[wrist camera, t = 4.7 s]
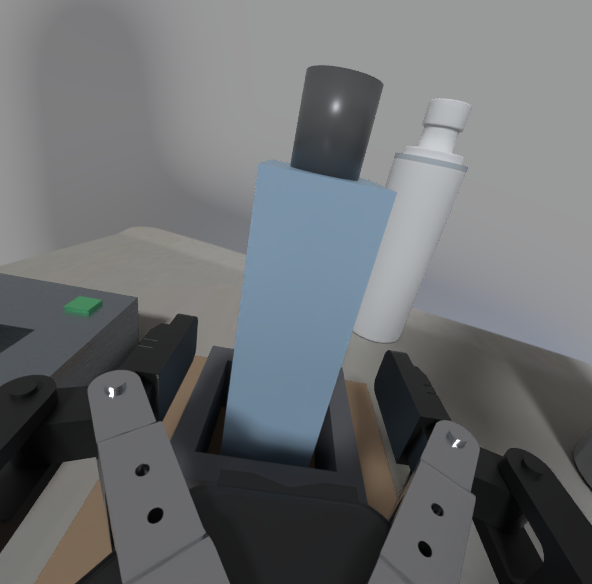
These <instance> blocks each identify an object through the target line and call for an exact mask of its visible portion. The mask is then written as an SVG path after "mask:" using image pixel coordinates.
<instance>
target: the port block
mask: <svg viewBox="0 0 592 584" xmlns="http://www.w3.org/2000/svg"><path fill="white" fill-rule="evenodd" d="M138 345H139V327H138V297H132V296H126V295H121V294H115V293H109V292H104V291H98V290H92V289H87V288H81V287H75V286H69V285H64V284H58V283H52V282H47V281H41V280H35V279H30V278H24V277H18V276H12V275H7V274H1V273H0V386H2V385H3V384H5V383H7V382H9V381H11V380H13V379H16V378H19V377H23V376H28V375H45V376H49V377H51V378H53V379H54V380H55V382H56V387H57V388H67V387H80V386H88V385H90V383H91V382H92V381H93V380H94V379H95V378H97V377H98V376H100V375H102V374H104V373H107V372H110V371H115V370H118V368H119V367H120V366H121V365H122V364H123V362H124V361H125V360H126V359H127V358H128V356H129V355H130V354H131V353H132V352H133V350H134V349H135V348H136V347H137V346H138Z"/></svg>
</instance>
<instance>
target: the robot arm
mask: <svg viewBox="0 0 592 584" xmlns="http://www.w3.org/2000/svg"><path fill="white" fill-rule="evenodd" d="M197 326H198V318H197V317H195V316H190V315H184V314H177V315H176V317H175V318H174V319H173V321H172V322H171V323H170V325H169V324H163V323H162V324H160V325H158V326H156V327H154V328H153V329H151V330H150V331H149V332H148V334H147V335H146V336H145V337H144V339H143V340H142V341H141V342H140V343H139V345H138V346H137V347H136V348H135V349H134V350H133V352H132V353H131V354H130V355H129V356H128V358H127V359H126V360H125V361H124V362H123V364H122V365H121V366H120V367H119V368H118V370H115V371H110V372H107V373H104V374H102V375H100V376H98V377H97V378H95V379H94V380H93V381H92V382H91V383H90V385H88V386H80V387H67V388H57V387H56V382H55V380H54V379H53V378H51V377H49V376H45V375H28V376H23V377H19V378H16V379H13V380H11V381H9V382H7V383H5V384H3V385H2V386H0V553H1V551H2V550H3V548H4V547H5V546H6V544H7V543H8V541H9V540H10V538H11V537H12V535H13V534H14V532H15V531H16V530H17V528H18V527H19V525H20V524H21V522H22V521H23V519H24V518H25V516H26V515H27V514H28V512H29V511H30V509H31V508H32V506H33V505H34V503H35V502H36V500H37V499H38V497H39V496H40V495H41V493H42V492H43V490H44V489H45V487H46V486H47V484H48V483H49V481H50V480H51V479H52V477H53V476H54V474H55V473H56V471H57V470H58V468H59V467H60V465H61V464H62V463H63V462H66V461H73V460H79V459H86V458H92V457H96V460H97V466H98V472H99V478H100V484H101V490H102V496H103V502H104V508H105V514H106V521H107V527H108V534H109V540H110V546H111V553H110V554H109V555H108V556H107V557H105V558H104V559H103V560H102V561H101V562H100V563H98V564H97V565H96V566H95V567H94V568H93V569H91V570H90V571H89V572H88V573H87V574H86V575H84V576H83V577H82V578H81V579H80V580H79V581H77V582H76V583H75V584H459V580H460V575H461V570H462V565H463V560H464V555H465V550H466V545H467V540H468V536H469V531H470V526H471V521H472V520H473V522H474V524H475V527H476V529H477V532H478V534H479V536H480V539H481V541H482V543H483V546H484V548H485V551H486V553H487V555H488V558H489V560H490V563H491V565H492V567H493V570H494V572H495V575H496V577H497V579H498V582H499V584H592V525H591V524H590V522H589V521H588V520H587V518H586V517H585V516H584V514H583V513H582V511H581V510H580V509H579V507H578V506H577V505H576V503H575V502H574V501H573V499H572V498H571V496H570V495H569V494H568V492H567V491H566V490H565V488H564V487H563V486H562V484H561V483H560V481H559V480H558V479H557V477H556V476H555V475H554V473H553V472H552V471H551V469H550V468H549V467H548V466H547V465H546V464H545V463H544V462H542V461H541V460H540V459H539V458H537V457H536V456H534V455H533V454H531V453H529V452H527V451H525V450H522V449H518V448H510V449H509V450H507V452H506V453H505V455H504V456H500V455H498V454H496V453H493V452H491V451H488V450H486V449H483V448H481V447H479V444H478V442H477V440H476V439H475V437H474V436H473V435H472V434H471V433H470V432H469V431H468V430H466V429H465V428H464V427H462V426H461V425H459V424H457V423H455V422H452V421H451V419H450V417H449V415H448V414H447V412H446V410H445V408H444V406H443V405H442V403H441V401H440V399H439V397H438V396H437V395H436V392H435V390H434V388H433V387H432V385H431V383H430V381H429V380H428V378H427V376H426V375H425V374H424V373H423V372H422V371H421V370H420V369H419V368H418V367H415V366H413V364H412V362H411V360H410V358H409V356H408V355H407V354H406V353H403V352H397V351H391V350H388V351H387V352H386V353H385V355H384V358H383V360H382V363H381V365H380V368H379V370H378V373H377V376H376V378H375V383H374V391H375V395H376V398H377V401H378V405H379V408H380V411H381V414H382V418H383V421H384V424H385V427H386V431H387V434H388V437H389V440H390V444H391V447H392V450H393V453H394V457H395V460H396V463H397V464H404V465H409V467H410V470H411V471H410V473H409V474H408V476H407V478H406V481H405V483H404V485H403V487H402V489H401V491H400V494H399V496H398V498H397V500H396V502H395V504H394V506H393V509H392V511H391V513H390V515H389V517H388V519H386V518H385V517H384V516H383V515H381V514H380V513H379V512H378V511H377V510H375V509H374V508H372V507H371V506H369V505H368V504H366V503H364V502H362V501H360V500H358V494H357V488H356V487H351V486H344V485H336V484H329V483H319V484H312V485H304V486H297V487H287V486H284V485H282V484H279V483H277V482H275V481H272V480H270V479H267V478H265V477H263V476H260V475H258V474H255V473H249V472H242V471H234V470H227V469H221V470H220V474H219V478H218V480H217V481H210V482H207V483H203V484H200V485H198V486H195V487H193V488H191V489H189V490H188V487H187V484H186V482H185V479H184V477H183V474H182V472H181V469H180V466H179V464H178V461H177V459H176V456H175V453H174V451H173V448H172V446H171V443H170V441H169V438H168V435H167V433H166V430H165V428H164V425H163V423H162V422H163V420H164V418H165V416H166V414H167V412H168V410H169V408H170V406H171V404H172V402H173V400H174V398H175V396H176V394H177V392H178V390H179V388H180V386H181V384H182V382H183V380H184V378H185V376H186V374H187V372H188V370H189V368H190V366H191V364H192V362H193V359H194V356H195V352H196V341H197ZM573 453H574V460H575V463H576V465H577V467H578V470H579V471H580V473H581V474H582V476H583V477H584V479H585V480H586V482H587V483H588V484H589V486H590V487H591V488H592V428H591V429H590V430H589V431H588V432H587V433H586V435H585V436H584V437H583V438H582V439H581V440H580V442H579V443H578V444H577V445H576V447H575V449H574V451H573ZM527 522H529V524H530V525H531V527H532V529H533V531H534V532H535V534H536V536H537V538H538V539H539V541H540V543H541V545H542V548H543V552H544V562H543V561H542V560H541V558H540V556H539V554H538V552H537V550H536V549H535V547H534V545H533V543H532V541H531V540H530V538H529V536H528V534H527V532H526V530H525V529H524V527H523V526H524V525H525V524H526V523H527Z"/></svg>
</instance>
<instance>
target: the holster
mask: <svg viewBox="0 0 592 584" xmlns="http://www.w3.org/2000/svg"><path fill="white" fill-rule="evenodd" d="M233 355H234V349H229V348H223V347H218V346H213V347H212V349H211V351H210V354H209V356H208V358H207V357H201V356H194V359H193V362H192V364H191V366H190V368H189V370H188V372H187V374H186V376H185V378H184V380H183V382H182V384H181V386H180V388H179V390H178V392H177V394H176V396H175V398H174V400H173V402H172V404H171V406H170V408H169V410H168V412H167V414H166V416H165V418H164V420H163V422H162V423H163V425H164V428H165V430H166V433H167V435H168V438H169V441H170V443H171V446H172V448H173V451H174V453H175V456H176V459H177V461H178V464H179V466H180V469H181V472H182V474H183V477H184V479H185V482H186V484H187V487H188V490H189V489H191V488H193V487H195V486H198V485H200V484H203V483H207V482H210V481H217V480H218V478H219V474H220V470H221V469H227V470H234V471H242V472H249V473H255V474H258V475H260V476H263V477H265V478H267V479H270V480H272V481H275V482H277V483H279V484H282V485H284V486H287V487H297V486H304V485H312V484H319V483H329V484H336V485H344V486H351V487H356V488H357V494H358V500H360V501H362V502H364V503H366V504H368V505H369V506H371V507H372V508H374V509H375V510H377V511H378V512H379V513H380V514H381V515H383V516H384V517H385V518H386V519H388V517H389V515H390V513H391V511H392V509H393V506H394V504H395V502H396V500H397V498H398V497H397V493H396V490H395V486H394V482H393V479H392V475H391V472H390V468H389V464H388V461H387V457H386V454H385V450H384V447H383V443H382V439H381V436H380V432H379V429H378V425H377V421H376V418H375V414H374V411H373V407H372V404H371V400H370V396H369V393H368V389H367V386H366V384H364V383H358V382H352V381H346V380H344V375H343V369H342V367H341V368H340V371H339V375H338V378H337V381H336V384H335V387H334V390H333V393H332V396H331V399H330V402H329V406H328V409H327V412H326V415H325V418H324V421H323V424H322V427H321V430H320V433H319V437H318V440H317V443H316V446H315V449H314V452H313V455H312V458H311V461H310V465H309V468H306V467H299V466H292V465H285V464H278V463H271V462H264V461H257V460H250V459H243V458H236V457H229V456H222V455H220V454H221V446H222V439H223V431H224V424H225V416H226V408H227V401H228V393H229V386H230V378H231V370H232V363H233ZM110 553H111V546H110V540H109V534H108V527H107V521H106V514H105V508H104V502H103V496H102V490H101V484H100V478H99V480H98V481H97V483H96V485H95V486H94V488H93V489H92V491H91V493H90V494H89V496H88V498H87V499H86V501H85V502H84V504H83V506H82V507H81V509H80V511H79V512H78V514H77V515H76V517H75V519H74V520H73V522H72V524H71V525H70V527H69V528H68V530H67V532H66V533H65V535H64V537H63V538H62V540H61V541H60V543H59V545H58V546H57V548H56V550H55V551H54V553H53V554H52V556H51V558H50V559H49V561H48V563H47V564H46V566H45V567H44V569H43V571H42V572H41V574H40V576H39V577H38V579H37V580H36V582H35V584H75V583H76V582H77V581H79V580H80V579H81V578H82V577H83V576H84V575H86V574H87V573H88V572H89V571H90V570H91V569H93V568H94V567H95V566H96V565H97V564H98V563H100V562H101V561H102V560H103V559H104V558H105V557H107V556H108V555H109V554H110Z"/></svg>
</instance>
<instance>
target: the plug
mask: <svg viewBox="0 0 592 584" xmlns="http://www.w3.org/2000/svg"><path fill="white" fill-rule="evenodd" d="M382 89H383V83H382V82H381V81H380V80H378V79H376V78H375V77H372V76H370V75H368V74H365V73H361V72H359V71H355V70H351V69H347V68H341V67H334V66H324V65H323V66H321V65H319V66H311V67H309V68H307V71H306V77H305V83H304V89H303V94H302V100H301V106H300V112H299V117H298V123H297V130H296V135H295V141H294V147H293V153H292V158H291V164H290V163H285V162H281V161H276V160H268V161H265V162H261V163H259V165H258V173H257V180H256V188H255V196H254V203H253V211H252V220H251V226H250V233H249V241H248V249H247V256H246V264H245V272H244V279H243V287H242V294H241V302H240V310H239V317H238V325H237V332H236V340H235V348H234V355H233V363H232V370H231V378H230V386H229V393H228V401H227V408H226V416H225V424H224V431H223V439H222V446H221V454H220V455H222V456H229V457H236V458H243V459H250V460H257V461H264V462H271V463H278V464H285V465H292V466H299V467H306V468H309V465H310V461H311V458H312V455H313V452H314V449H315V446H316V443H317V440H318V437H319V433H320V430H321V427H322V424H323V421H324V418H325V415H326V412H327V409H328V406H329V402H330V399H331V396H332V393H333V390H334V387H335V384H336V381H337V378H338V375H339V371H340V368H341V365H342V362H343V359H344V356H345V353H346V350H347V347H348V343H349V340H350V337H351V334H352V331H353V328H354V325H355V322H356V319H357V316H358V312H359V309H360V306H361V303H362V300H363V297H364V294H365V291H366V288H367V284H368V281H369V278H370V275H371V272H372V269H373V266H374V263H375V260H376V257H377V253H378V250H379V247H380V244H381V241H382V238H383V235H384V232H385V229H386V226H387V222H388V219H389V216H390V213H391V210H392V207H393V204H394V201H395V198H396V194H397V192H395V191H393V190H391V189H388V188H386V187H384V186H381V185H379V184H377V183H374V182H372V181H370V180H365V179H361V178H359V175H360V172H361V168H362V164H363V160H364V157H365V153H366V149H367V145H368V142H369V138H370V134H371V130H372V127H373V123H374V119H375V115H376V111H377V107H378V104H379V100H380V96H381V93H382Z"/></svg>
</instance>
